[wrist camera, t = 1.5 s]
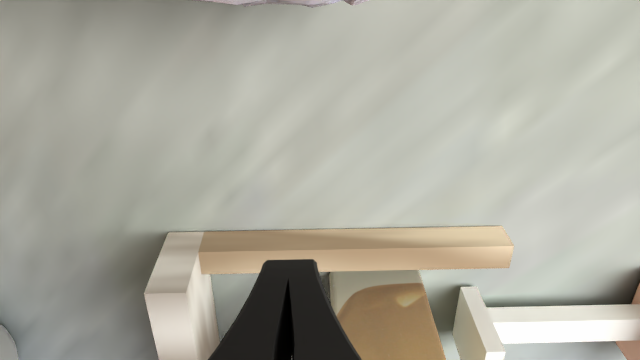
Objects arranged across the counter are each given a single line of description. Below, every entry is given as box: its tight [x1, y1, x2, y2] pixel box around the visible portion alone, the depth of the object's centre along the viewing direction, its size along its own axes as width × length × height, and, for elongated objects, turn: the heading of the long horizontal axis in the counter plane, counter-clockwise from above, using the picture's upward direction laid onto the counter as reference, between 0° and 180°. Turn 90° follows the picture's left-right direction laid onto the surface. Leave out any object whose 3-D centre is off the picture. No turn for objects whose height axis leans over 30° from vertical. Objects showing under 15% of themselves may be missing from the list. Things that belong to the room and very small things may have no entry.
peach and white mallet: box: [452, 283, 640, 360], centre depth 24 cm, size 5×11×4 cm, turn 90°
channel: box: [144, 226, 514, 360], centre depth 24 cm, size 10×15×4 cm, turn 90°
